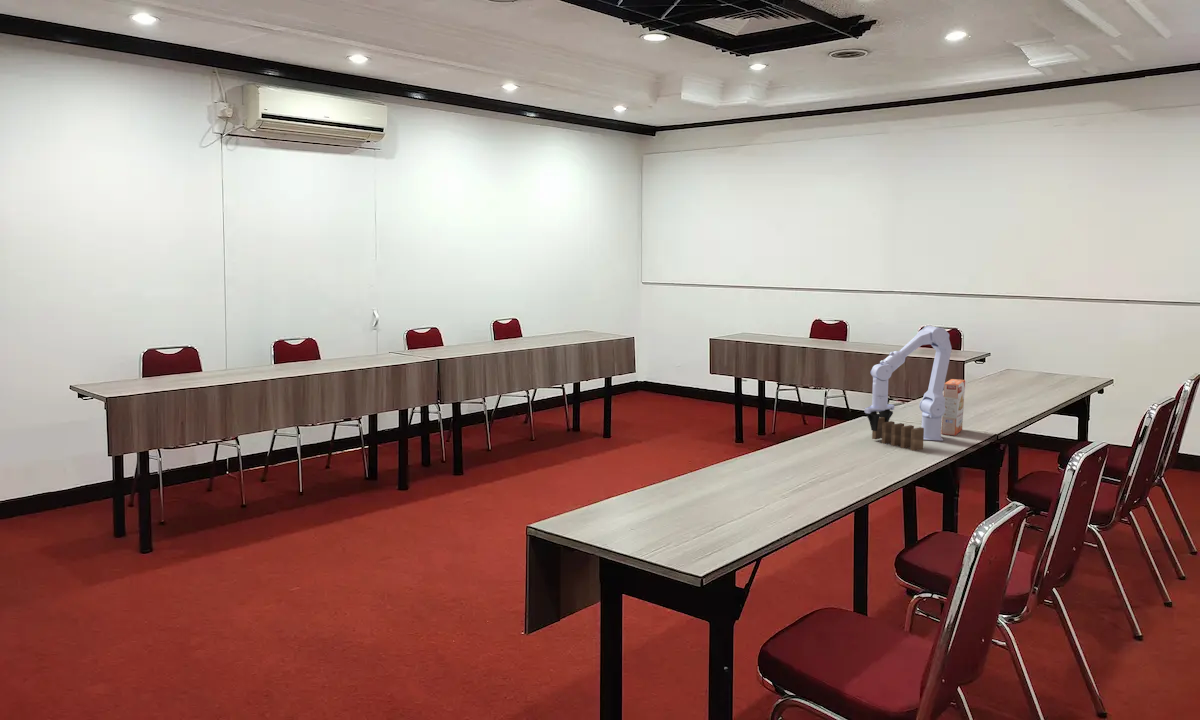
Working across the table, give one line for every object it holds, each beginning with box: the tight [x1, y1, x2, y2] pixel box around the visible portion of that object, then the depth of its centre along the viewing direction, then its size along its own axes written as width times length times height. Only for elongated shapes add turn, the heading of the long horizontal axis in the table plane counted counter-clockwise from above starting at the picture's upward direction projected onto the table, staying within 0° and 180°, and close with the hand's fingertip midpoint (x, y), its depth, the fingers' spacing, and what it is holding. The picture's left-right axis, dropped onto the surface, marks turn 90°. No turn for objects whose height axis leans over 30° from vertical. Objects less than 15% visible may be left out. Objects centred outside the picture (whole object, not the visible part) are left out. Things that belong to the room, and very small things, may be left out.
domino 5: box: [910, 426, 924, 452], centre depth 315 cm, size 2×5×8 cm, turn 121°
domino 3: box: [890, 422, 905, 447], centre depth 323 cm, size 2×5×8 cm, turn 121°
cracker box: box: [941, 378, 966, 436], centre depth 343 cm, size 14×6×21 cm, turn 147°
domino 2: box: [881, 420, 896, 444], centre depth 327 cm, size 2×5×8 cm, turn 121°
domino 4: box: [900, 424, 915, 449], centre depth 319 cm, size 2×5×8 cm, turn 121°
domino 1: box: [871, 417, 885, 440], centre depth 330 cm, size 2×5×8 cm, turn 121°
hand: (878, 429), depth 330 cm, fingers closed on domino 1, 5 cm apart
